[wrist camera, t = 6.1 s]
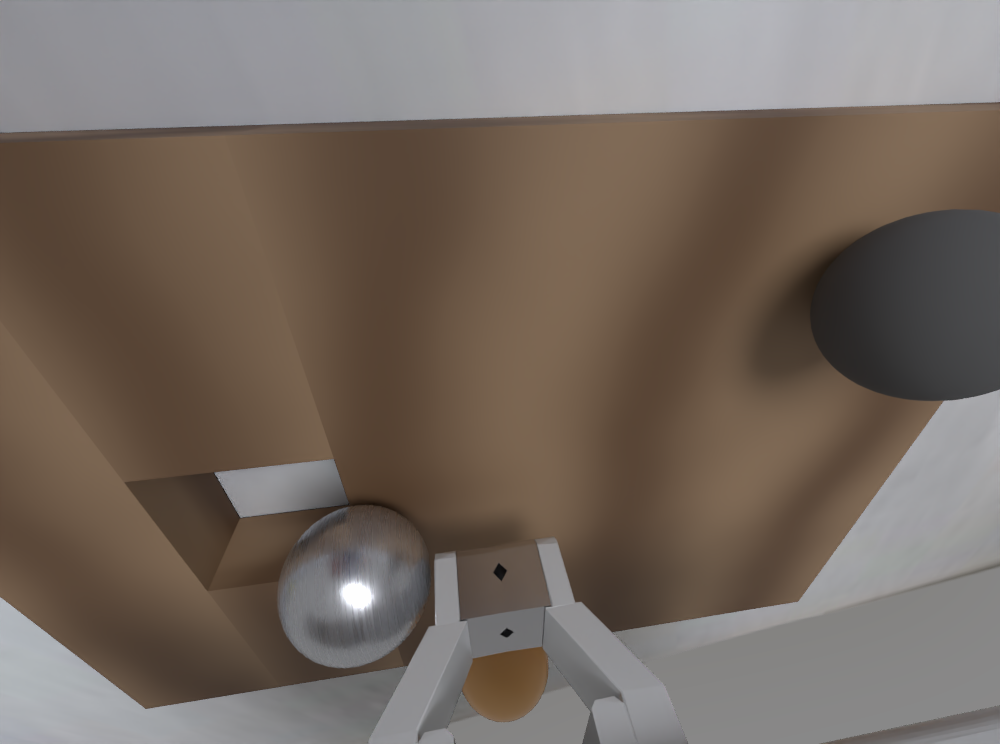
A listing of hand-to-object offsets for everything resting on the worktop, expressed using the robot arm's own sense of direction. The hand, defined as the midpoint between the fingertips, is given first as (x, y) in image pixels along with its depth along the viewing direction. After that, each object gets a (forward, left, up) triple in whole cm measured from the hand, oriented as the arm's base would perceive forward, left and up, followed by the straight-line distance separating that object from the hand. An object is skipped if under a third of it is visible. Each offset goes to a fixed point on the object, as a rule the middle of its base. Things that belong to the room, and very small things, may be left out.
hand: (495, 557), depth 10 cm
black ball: (-8, -6, 0) cm, 10 cm away
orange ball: (0, +6, 0) cm, 6 cm away
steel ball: (+3, 0, 0) cm, 3 cm away
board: (0, 0, -4) cm, 4 cm away
